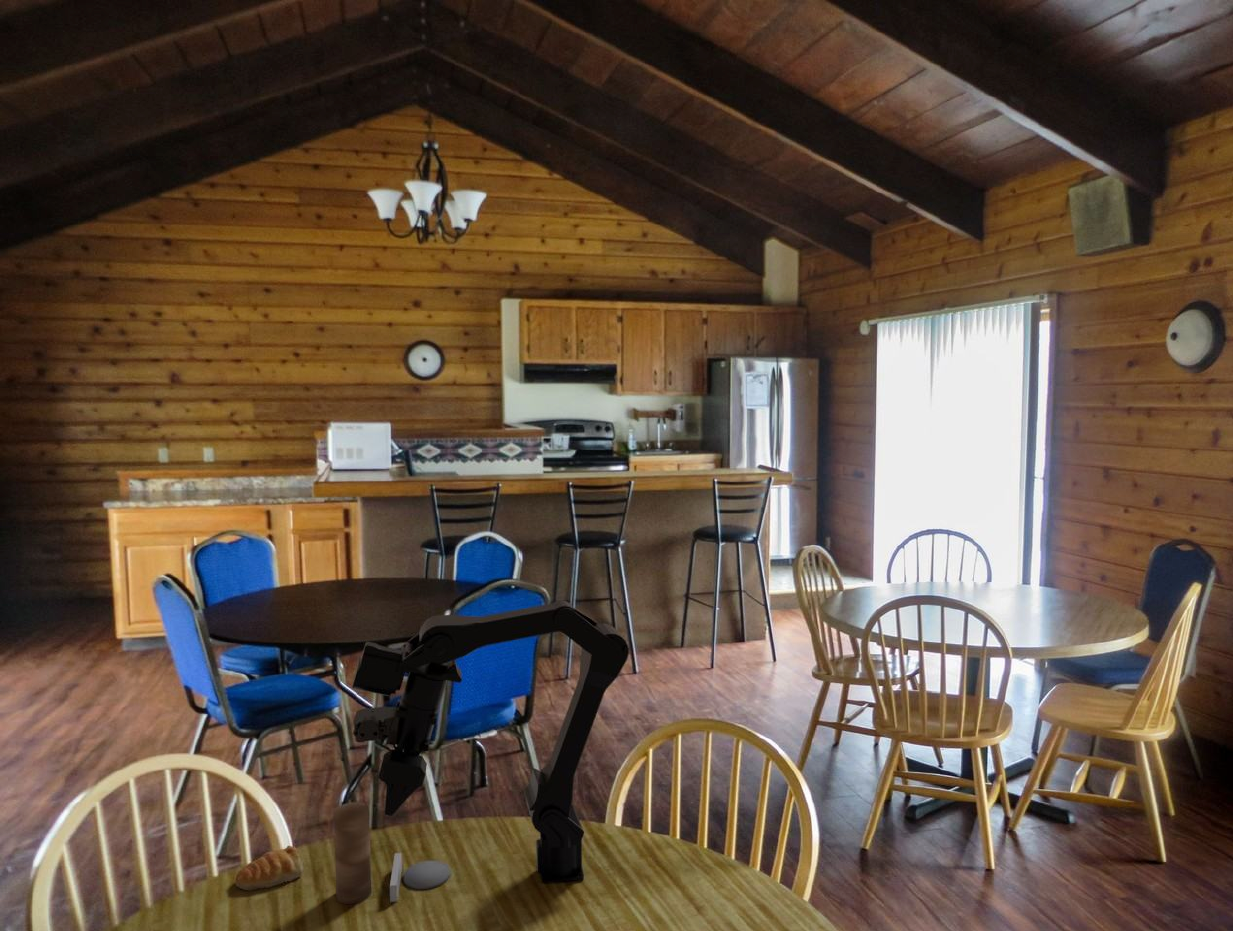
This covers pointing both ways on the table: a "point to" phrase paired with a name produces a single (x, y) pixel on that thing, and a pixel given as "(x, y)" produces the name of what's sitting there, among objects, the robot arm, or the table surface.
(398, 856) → the acrylic wall
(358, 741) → the robot arm
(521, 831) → the table surface
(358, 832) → the walnut post
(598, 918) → the table surface
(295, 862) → the pastry
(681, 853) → the table surface
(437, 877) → the slate mat
